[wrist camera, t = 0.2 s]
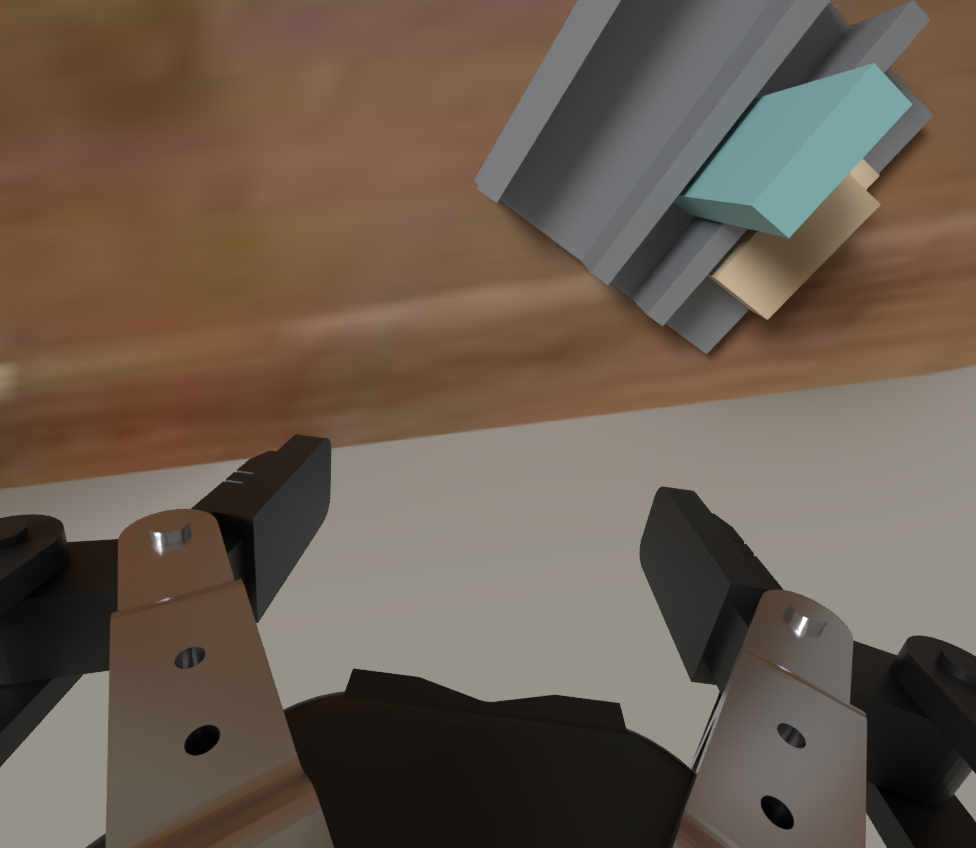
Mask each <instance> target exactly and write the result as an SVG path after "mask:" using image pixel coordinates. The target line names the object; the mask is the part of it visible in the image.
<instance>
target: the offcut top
mask: <svg viewBox="0 0 976 848" xmlns="http://www.w3.org/2000/svg"><path fill="white" fill-rule="evenodd" d="M880 205H881V204H880V203H879V202H878V201H877V200H876V199H875V198H874V197H873V196H872V195H871V194H870V193H869V192H868V191H866V190H865V189H864V188H863V187H862V186H861V185H860V184H859V183H858V182H857V181H856V180H855V179H854V178H853V177H852V176H851V175H850V174H848V175H847V176H846V177H845V178H844V179H843V180H842V181H841V182H840V183H839V185H838V186H837V187H836V188H835V189H834V190H833V191H832V192H831V193H830V194H829V195H828V196H827V198H826V199H825V200H824V201H823V202H822V203H821V204H820V205H819V206H818V207H817V208H816V209H815V211H814V212H813V213H812V214H811V215H810V216H809V217H808V218H807V219H806V220H805V221H804V222H803V224H802V225H801V226H800V227H799V228H798V229H797V230H796V231H795V232H794V233H793V234H792V235H791V237H790V238H786V237H782V236H777V235H773V234H769V233H764V232H760V231H756V230H752V229H747V230H746V231H745V233H744V234H743V235H742V236H741V237H740V238H739V239H738V241H737V242H736V243H735V244H734V245H733V246H732V248H731V249H730V250H729V251H728V252H727V253H726V254H725V256H724V257H723V258H722V259H721V260H720V261H719V262H718V264H717V265H716V266H715V267H714V268H713V269H712V270H711V272H710V273H709V274H708V275H707V276H708V277H710V278H711V279H712V280H713V281H715V282H716V283H717V284H718V285H720V286H721V287H722V288H723V289H725V290H726V291H727V292H728V293H730V294H731V295H732V296H733V297H735V298H736V299H737V300H738V301H740V302H741V303H742V304H743V305H745V306H746V307H747V308H748V309H750V310H751V311H753V312H754V313H756V314H758V315H760V316H761V317H763V318H765V319H767V320H768V319H769V318H770V317H771V316H772V315H773V314H774V313H775V312H776V311H777V310H778V309H779V308H780V307H781V306H782V305H783V304H784V303H785V302H786V301H787V300H788V299H789V298H790V296H791V295H792V294H793V293H794V292H795V291H796V290H797V289H798V288H799V287H800V286H801V285H802V284H803V283H804V282H805V281H806V280H807V279H808V278H809V277H810V276H811V275H812V274H813V273H814V272H815V271H816V270H817V269H818V268H819V267H820V266H821V265H822V264H823V263H824V262H825V261H826V260H827V259H828V258H829V257H830V256H831V255H832V254H833V253H834V252H835V251H836V250H837V249H838V248H839V247H840V246H841V245H842V244H843V242H844V241H845V240H846V239H847V238H848V237H849V236H850V235H851V234H852V233H853V232H854V231H855V230H856V229H857V228H858V227H859V226H860V225H861V224H862V223H863V222H864V221H865V220H866V219H867V218H868V217H869V216H870V215H871V214H872V213H873V212H874V211H875V210H876V209H877V208H878V207H879V206H880Z"/></svg>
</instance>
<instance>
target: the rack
mask: <svg viewBox="0 0 976 848" xmlns="http://www.w3.org/2000/svg"><path fill="white" fill-rule="evenodd" d="M829 2H830V0H578V1H577V3H576V5H575V6H574V8H573V10H572V12H571V13H570V15H569V17H568V19H567V20H566V22H565V24H564V25H563V27H562V29H561V31H560V32H559V34H558V36H557V38H556V39H555V41H554V43H553V45H552V46H551V48H550V50H549V51H548V53H547V55H546V57H545V58H544V60H543V62H542V64H541V65H540V67H539V69H538V71H537V72H536V74H535V76H534V77H533V79H532V81H531V83H530V84H529V86H528V88H527V90H526V91H525V93H524V95H523V97H522V98H521V100H520V102H519V103H518V105H517V107H516V109H515V110H514V112H513V114H512V116H511V117H510V119H509V121H508V123H507V124H506V126H505V128H504V129H503V131H502V133H501V135H500V136H499V138H498V140H497V142H496V143H495V145H494V147H493V149H492V150H491V152H490V154H489V155H488V157H487V159H486V161H485V162H484V164H483V166H482V168H481V169H480V171H479V173H478V175H477V176H476V178H475V180H474V182H476V183H477V184H478V185H479V186H478V188H477V189H478V190H479V191H481V192H482V193H483V194H485V195H486V196H488V197H489V198H490V199H492V200H493V201H494V202H496V203H497V202H498V201H499V200H500V201H501V202H502V203H504V204H505V205H506V206H508V207H509V208H510V209H512V210H513V211H515V212H516V213H517V214H519V215H520V216H521V217H523V218H524V219H525V220H527V221H528V222H529V223H531V224H532V225H533V226H535V227H536V228H537V229H539V230H540V231H541V232H543V233H544V234H545V235H547V236H548V237H549V238H551V239H552V240H553V241H555V242H556V243H557V244H559V245H560V246H562V247H563V248H564V249H566V250H567V251H568V252H570V253H571V254H572V255H574V256H575V257H576V258H578V259H579V260H580V261H581V262H582V263H583V264H584V265H585V267H586V268H587V269H588V270H589V272H590V273H591V274H593V275H594V276H595V277H597V278H598V279H599V280H601V281H602V282H604V283H605V284H606V285H609V284H610V283H611V284H613V285H614V286H615V287H617V288H618V289H619V290H621V291H622V292H623V293H625V294H626V295H627V296H629V297H630V298H631V299H632V300H633V301H634V302H635V303H636V304H637V305H638V306H639V307H640V308H641V309H642V310H643V311H644V312H645V313H646V314H647V315H648V316H649V317H651V318H652V319H653V320H655V321H656V322H657V323H659V324H660V325H662V326H663V325H664V324H666V325H668V326H669V327H670V328H672V329H673V330H674V331H676V332H677V333H678V334H680V335H681V336H682V337H684V338H685V339H686V340H688V341H689V342H690V343H692V344H693V345H695V346H696V347H697V348H699V349H700V350H701V351H703V352H704V353H705V354H707V353H708V352H709V351H710V350H711V349H712V348H713V347H714V346H715V345H716V344H717V343H718V342H719V341H720V340H721V339H722V338H723V337H724V335H725V334H726V333H727V332H728V331H729V330H730V329H731V328H732V327H733V326H734V325H735V324H736V323H737V322H738V321H739V320H740V319H741V318H742V317H743V315H744V314H745V313H746V312H747V311H748V310H749V309H748V308H747V307H746V306H745V305H743V304H742V303H741V302H740V301H738V300H737V299H736V298H735V297H733V296H732V295H731V294H730V293H728V292H727V291H726V290H725V289H723V288H722V287H721V286H720V285H718V284H717V283H716V282H715V281H713V280H712V279H711V278H710V277H708V276H707V275H708V274H709V273H710V272H711V270H712V269H713V268H714V267H715V266H716V265H717V264H718V262H719V261H720V260H721V259H722V258H723V257H724V256H725V254H726V253H727V252H728V251H729V250H730V249H731V248H732V246H733V245H734V244H735V243H736V242H737V241H738V239H739V238H740V237H741V236H742V235H743V234H744V233H745V231H746V230H747V228H743V227H739V226H735V225H730V224H726V223H722V222H717V221H713V220H709V219H705V218H700V217H696V216H692V215H689V214H687V213H686V212H685V211H684V210H683V209H681V208H680V207H679V206H678V205H677V204H675V203H674V200H675V199H676V198H677V196H678V195H679V194H680V193H681V191H682V190H683V189H684V188H685V186H686V185H687V184H688V182H689V181H690V180H691V179H692V177H693V176H694V175H695V173H696V172H697V171H698V170H699V168H700V167H701V166H702V164H703V163H704V162H705V161H706V159H707V158H708V157H709V155H710V154H711V153H712V152H713V150H714V149H715V148H716V146H717V145H718V144H719V143H720V141H721V140H722V139H723V137H724V136H725V135H726V134H727V132H728V131H729V130H730V129H731V127H732V126H733V125H734V123H735V122H736V121H737V120H738V118H739V117H740V116H741V114H742V113H743V112H744V111H745V109H746V108H747V107H748V105H749V104H750V103H751V102H752V100H753V99H755V98H759V97H762V96H765V95H769V94H772V93H775V92H779V91H782V90H785V89H789V88H792V87H795V86H799V85H802V84H806V83H809V82H812V81H816V80H819V79H822V78H826V77H829V76H832V75H836V74H839V73H842V72H846V71H849V70H852V69H856V68H859V67H862V66H866V65H869V64H873V63H875V65H876V66H877V67H878V68H879V69H880V70H881V71H882V72H883V73H884V74H885V75H886V76H887V77H888V78H889V80H890V81H891V82H892V83H893V84H894V85H895V86H896V87H897V88H898V89H899V90H900V91H901V92H902V94H903V95H904V96H905V97H906V98H907V99H908V100H909V101H910V102H911V103H912V105H911V107H910V108H909V109H908V110H907V111H906V112H905V113H904V114H903V115H902V116H901V117H900V118H899V120H898V121H897V122H896V123H895V124H894V125H893V126H892V127H891V128H890V129H889V130H888V131H887V133H886V134H885V135H884V136H883V137H882V138H881V139H880V140H879V141H878V142H877V143H876V144H875V146H874V147H873V148H872V149H871V150H870V151H869V152H868V153H867V154H866V155H865V156H864V157H863V159H864V160H865V161H866V162H867V163H868V164H869V165H870V166H871V167H872V168H873V169H874V170H875V171H876V172H877V173H878V174H879V173H880V171H881V170H882V169H883V168H884V167H885V166H886V165H887V164H888V163H889V162H890V161H891V160H892V159H893V158H894V157H895V156H896V155H897V154H898V153H899V151H900V150H901V149H902V148H903V147H904V146H905V145H906V144H907V143H908V142H909V141H910V140H911V139H912V138H913V137H914V136H915V135H916V134H917V133H918V132H919V130H920V129H921V128H922V127H923V126H924V125H925V124H926V123H927V122H928V121H929V120H930V119H931V118H932V117H933V116H934V115H933V114H932V113H931V112H930V111H929V110H928V109H927V108H926V107H925V106H924V104H923V103H922V102H921V101H920V100H919V99H918V98H917V97H916V96H915V95H914V94H913V93H912V91H911V90H910V89H909V88H908V87H907V86H906V85H905V84H904V83H903V82H902V81H901V80H900V78H899V77H898V76H897V75H896V74H895V73H894V72H893V71H892V70H891V69H890V68H889V67H890V66H891V64H892V63H893V62H894V61H895V60H896V59H897V58H898V56H899V55H900V54H901V53H902V52H903V51H904V50H905V48H906V47H907V46H908V45H909V44H910V43H911V42H912V40H913V39H914V38H915V37H916V36H917V35H918V34H919V32H920V31H921V30H922V29H923V28H924V27H925V26H926V24H927V23H928V22H929V21H930V19H929V17H928V16H927V15H926V14H925V13H924V12H923V10H922V9H921V8H920V7H919V6H918V5H917V4H916V2H915V1H914V0H911V1H908V2H906V3H904V4H901V5H899V6H897V7H894V8H892V9H889V10H887V11H885V12H882V13H880V14H878V15H875V16H873V17H871V18H868V19H866V20H864V21H861V22H859V23H857V24H854V25H852V26H851V25H850V24H849V23H848V22H847V21H846V20H845V19H844V18H843V17H842V16H841V15H840V14H839V12H838V11H837V10H836V9H835V8H834V7H833V6H832V5H831V4H830V3H829Z"/></svg>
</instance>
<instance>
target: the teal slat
mask: <svg viewBox="0 0 976 848" xmlns="http://www.w3.org/2000/svg"><path fill="white" fill-rule="evenodd" d="M911 105H912V103H911V102H910V101H909V100H908V99H907V98H906V97H905V96H904V95H903V94H902V92H901V91H900V90H899V89H898V88H897V87H896V86H895V85H894V84H893V83H892V82H891V81H890V80H889V78H888V77H887V76H886V75H885V74H884V73H883V72H882V71H881V70H880V69H879V68H878V67H877V66H876V65H875V63H873V64H869V65H866V66H862V67H859V68H856V69H852V70H849V71H846V72H842V73H839V74H836V75H832V76H829V77H826V78H822V79H819V80H816V81H812V82H809V83H806V84H802V85H799V86H795V87H792V88H789V89H785V90H782V91H779V92H775V93H772V94H769V95H765V96H762V97H759V98H755V99H753V100H752V102H751V103H750V104H749V105H748V107H747V108H746V109H745V111H744V112H743V113H742V114H741V116H740V117H739V118H738V120H737V121H736V122H735V123H734V125H733V126H732V127H731V129H730V130H729V131H728V132H727V134H726V135H725V136H724V137H723V139H722V140H721V141H720V143H719V144H718V145H717V146H716V148H715V149H714V150H713V152H712V153H711V154H710V155H709V157H708V158H707V159H706V161H705V162H704V163H703V164H702V166H701V167H700V168H699V170H698V171H697V172H696V173H695V175H694V176H693V177H692V179H691V180H690V181H689V182H688V184H687V185H686V186H685V188H684V189H683V190H682V191H681V193H680V194H679V195H678V196H677V198H676V199H675V200H674V203H675V204H677V205H678V206H679V207H680V208H681V209H683V210H684V211H685V212H686V213H687V214H689V215H692V216H696V217H700V218H705V219H709V220H713V221H717V222H722V223H726V224H730V225H735V226H739V227H743V228H747V229H752V230H756V231H760V232H764V233H769V234H773V235H777V236H782V237H786V238H790V237H791V235H792V234H793V233H794V232H795V231H796V230H797V229H798V228H799V227H800V226H801V225H802V224H803V222H804V221H805V220H806V219H807V218H808V217H809V216H810V215H811V214H812V213H813V212H814V211H815V209H816V208H817V207H818V206H819V205H820V204H821V203H822V202H823V201H824V200H825V199H826V198H827V196H828V195H829V194H830V193H831V192H832V191H833V190H834V189H835V188H836V187H837V186H838V185H839V183H840V182H841V181H842V180H843V179H844V178H845V177H846V176H847V175H848V174H849V173H850V172H851V170H852V169H853V168H854V167H855V166H856V165H857V164H858V163H859V162H860V161H861V160H862V159H863V157H864V156H865V155H866V154H867V153H868V152H869V151H870V150H871V149H872V148H873V147H874V146H875V144H876V143H877V142H878V141H879V140H880V139H881V138H882V137H883V136H884V135H885V134H886V133H887V131H888V130H889V129H890V128H891V127H892V126H893V125H894V124H895V123H896V122H897V121H898V120H899V118H900V117H901V116H902V115H903V114H904V113H905V112H906V111H907V110H908V109H909V108H910V107H911Z"/></svg>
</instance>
